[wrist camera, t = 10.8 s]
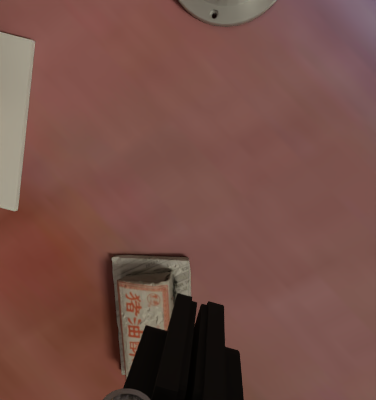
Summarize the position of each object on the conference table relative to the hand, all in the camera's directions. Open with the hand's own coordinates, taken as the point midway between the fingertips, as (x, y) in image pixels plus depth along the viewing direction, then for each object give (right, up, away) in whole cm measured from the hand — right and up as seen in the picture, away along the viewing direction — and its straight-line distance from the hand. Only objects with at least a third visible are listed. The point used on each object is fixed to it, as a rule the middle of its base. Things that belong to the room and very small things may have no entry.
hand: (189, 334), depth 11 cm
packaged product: (-4, -11, +32) cm, 34 cm away
